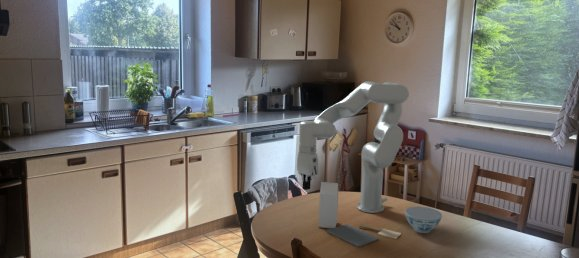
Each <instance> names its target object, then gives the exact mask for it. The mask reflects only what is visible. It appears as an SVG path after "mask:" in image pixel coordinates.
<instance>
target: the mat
mask: <svg viewBox="0 0 579 258" xmlns="http://www.w3.org/2000/svg"><path fill="white" fill-rule="evenodd" d="M326 233H328V234H329V235H332V236H334V237H335V238H338V239H339V240H342V241H345V242H346V243H349V244H350V245H352V246H353V247H354V246H355V247H357V248H360V247H363V246H365V245H368V244H371V243H374V242H377V241H379V240H380V238H379V237H377V236H374V235H372V234H370V233H368V232H365V231H364V230H361V229H360V228H357V227H355V226H353V225H350V224H348V223H346V224H343V225H339V226H336V228H329V229H327V230H326Z"/></svg>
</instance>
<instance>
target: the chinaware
mask: <svg viewBox="0 0 579 258" xmlns="http://www.w3.org/2000/svg"><path fill="white" fill-rule="evenodd" d="M404 214H405V215H404V216H405V218H406V221H407V222H408V224H409V225H410V226H411V228H413V230H414V231H415V232H417V233H420V234H428V233H430V232H431V231H432V230H434V229H435V228H436V227H438V225H439V224H440V222H441V220H442V218H443V214H442V212H440V211H439V210H437V209H435V208H431V207H427V206H418V205H417V206H410V207H408V208H405V210H404Z"/></svg>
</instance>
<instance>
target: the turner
mask: <svg viewBox="0 0 579 258" xmlns="http://www.w3.org/2000/svg"><path fill="white" fill-rule="evenodd" d="M358 227H359V228H358V229H363V230H367V231H370V232H375V233H377V236H380V237H385V238H390V239H392V240H393V239H394V240H397V239H398V238H399V237H400V236H401V235H402V232H398V231H394V230H390V229H387V228H381V229H380V228H377V227H374V226H370V225H365V224H359V225H358Z"/></svg>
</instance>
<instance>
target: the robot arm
mask: <svg viewBox="0 0 579 258" xmlns="http://www.w3.org/2000/svg"><path fill="white" fill-rule="evenodd" d="M409 95H410V91H409V89H408V87H406V86H405V85H404V84H400V83H397V82H391V81H386V82H383V83H379V82H374V81H370V80H369V81H368V80H366V81H363V82H362V83H361V84H360V85H358V86H357V87H356V88H355V89H353V91H351V92H350V93H349V94H348V95H347V96H346V97H344V98H343V99H341V100H340V101H339V102H337V103H335V104H333V105H331V106H329V107H328V108H326V109H325V110H324V111H322V112H321V113H320V114H319V115H318V116H316V117H315V119H314V120H302V121H301V122H299V134H298V135H299V136H298V137H299V138H298V139H299V143H298V145H299V146H298V151H297V152H298V153H297V158H296V159H297V160H296V170H297V173H298V174H299V175H300V176H301V180H302V190H304V191H307V190H310V189H311V183H312V180H315V179H317V178H316V177H317V176H316V175H319V157H318V152H317V151H318V150H317V139H327V140H328V139H330V138H331V139H332V138H333V137H334V136H335V134H336V132H337V128H336V126H335V123H336V122H337V121H339V120H342V119H346V118H349V117H354V116H355V115H357V114H358V113H359V112H360V111H361V110H363V108H364V107H366V106H367V105H368V104H369V103H375V104H383V108H382V109H383V110H382V112H381V114H380V117H379V119H378V121H377V123H376V125H375V126H374V130H373V136H374V138H375V139H376V140H377V141H379V142H380V143H377V142H374V141H369V142H368V143H365V144H364V145H363V147H362V148H361V149H362V150H361V163H362V171H361V173H362V174H361V185H360V186H361V188H360V189H361V190H360V202H359V203H357V205H356V208H357V209H358V210H359V211H360V212H363V213H369V214H377V213H378V214H379V213H382V212H384V210H385V206H384V205H383V203H385V202H388V198H387V197H383V196H382V193H383V179H384V169H387V168H388V167H390V166H391V165H392V164H393V162H394V160H395V158H396V156H397V154H398V153H399V150H400V147H401V145H402V143H403V140H404V131H403V130H402V128H401V127H400V126H399V125H398V124H399V122H400V120H401V117H402V113H403V104H404V103H405V102H406V101H407V100H408V99H409V97H410V96H409ZM382 197H383V198H382Z"/></svg>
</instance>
